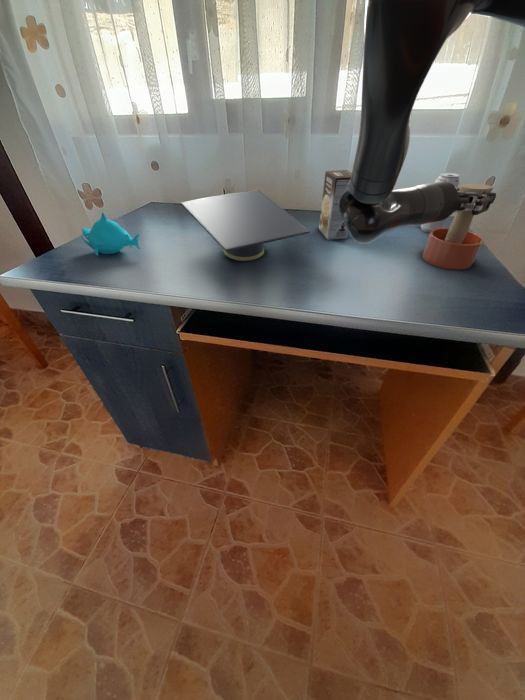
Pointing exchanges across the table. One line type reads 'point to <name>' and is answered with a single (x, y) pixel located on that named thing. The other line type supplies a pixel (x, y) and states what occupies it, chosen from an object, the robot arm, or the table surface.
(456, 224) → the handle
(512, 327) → the table surface
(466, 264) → the holder
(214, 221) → the graduation cap
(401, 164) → the robot arm
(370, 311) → the table surface
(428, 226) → the energy drink can
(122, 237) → the toy shark
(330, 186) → the coffee box
